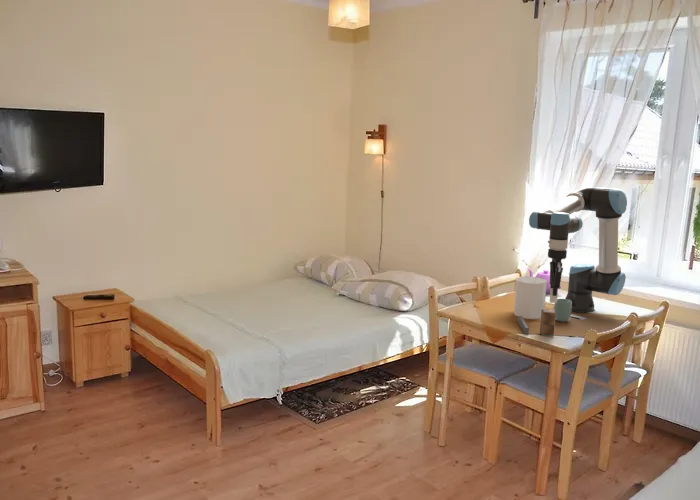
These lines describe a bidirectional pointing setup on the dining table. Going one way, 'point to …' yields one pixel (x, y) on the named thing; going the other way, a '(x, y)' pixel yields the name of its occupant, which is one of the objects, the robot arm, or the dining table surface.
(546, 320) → the brown and green block
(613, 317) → the dining table surface
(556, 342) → the dining table surface
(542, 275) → the teapot
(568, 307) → the cup
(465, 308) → the dining table surface
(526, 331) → the rail
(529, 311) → the container
